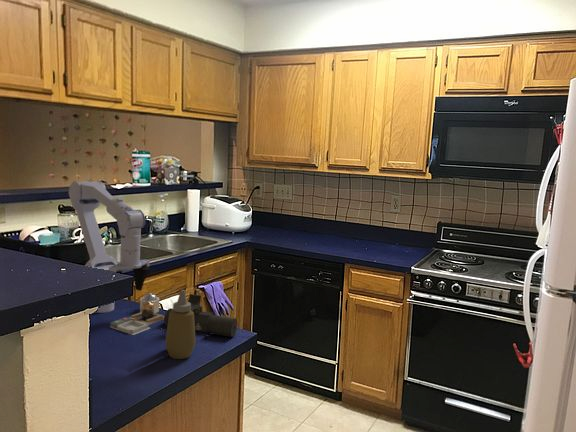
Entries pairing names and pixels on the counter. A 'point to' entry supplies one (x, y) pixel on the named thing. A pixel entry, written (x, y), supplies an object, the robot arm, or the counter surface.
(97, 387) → the counter surface
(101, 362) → the counter surface
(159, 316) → the tan square tray
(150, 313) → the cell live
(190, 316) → the squeeze bottle
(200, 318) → the laser sight
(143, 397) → the counter surface
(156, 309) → the cup
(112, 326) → the cradle
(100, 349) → the counter surface
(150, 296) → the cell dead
